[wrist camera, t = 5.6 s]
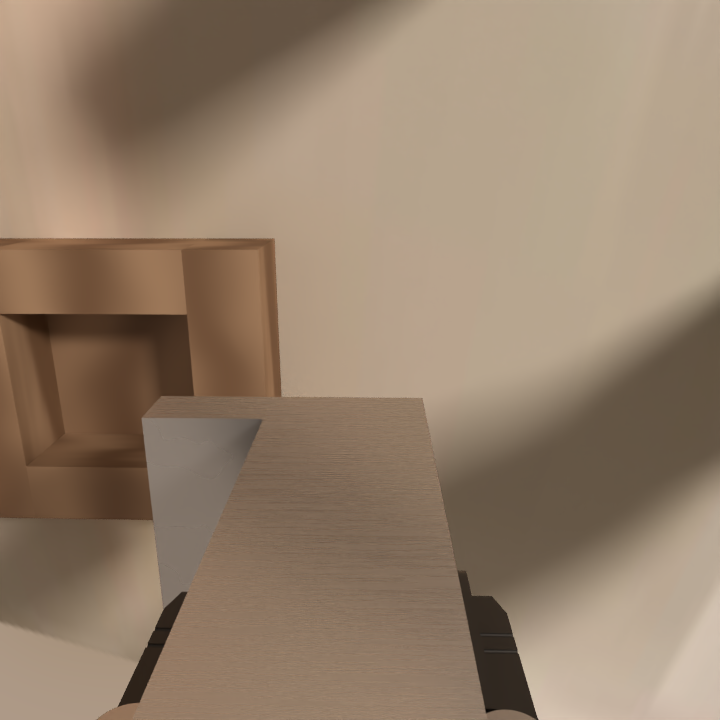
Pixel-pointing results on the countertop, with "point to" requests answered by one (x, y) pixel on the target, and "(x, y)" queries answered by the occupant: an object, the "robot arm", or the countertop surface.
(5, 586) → the countertop surface
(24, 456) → the well block
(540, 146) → the countertop surface
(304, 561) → the grey block
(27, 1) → the countertop surface
